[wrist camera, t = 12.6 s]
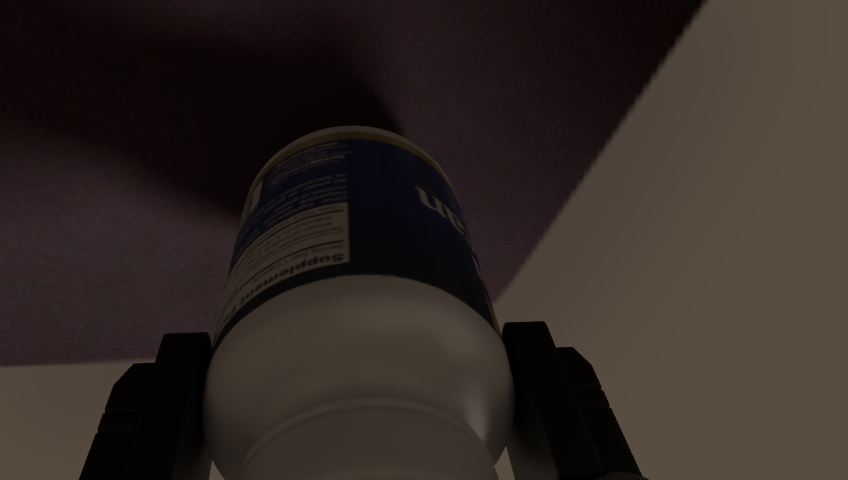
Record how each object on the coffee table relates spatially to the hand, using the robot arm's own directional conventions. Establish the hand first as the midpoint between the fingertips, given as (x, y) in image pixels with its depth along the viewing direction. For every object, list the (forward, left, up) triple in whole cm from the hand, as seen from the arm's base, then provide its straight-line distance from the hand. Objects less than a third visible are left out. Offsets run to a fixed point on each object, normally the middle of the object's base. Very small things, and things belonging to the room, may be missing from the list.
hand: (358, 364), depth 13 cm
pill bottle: (0, 0, -6) cm, 6 cm away
